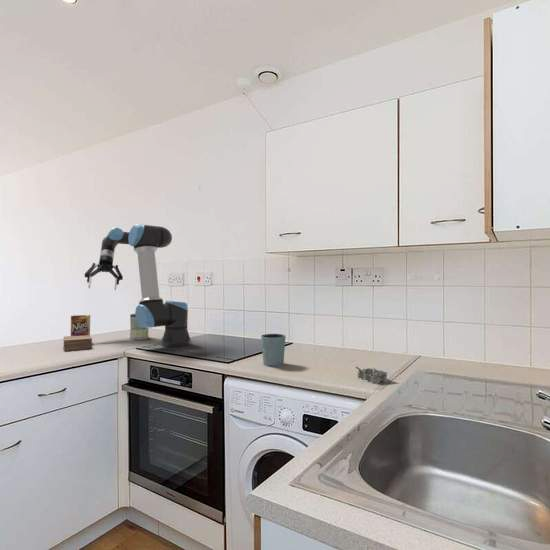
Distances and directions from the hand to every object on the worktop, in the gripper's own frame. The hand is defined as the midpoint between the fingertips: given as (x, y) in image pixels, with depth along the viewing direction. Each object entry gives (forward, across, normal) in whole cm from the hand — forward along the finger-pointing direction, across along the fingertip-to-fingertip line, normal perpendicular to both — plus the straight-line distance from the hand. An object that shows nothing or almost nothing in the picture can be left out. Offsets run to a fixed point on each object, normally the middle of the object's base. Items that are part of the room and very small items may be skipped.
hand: (102, 287), depth 210 cm
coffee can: (+23, -22, -17) cm, 36 cm away
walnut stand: (+36, +8, -1) cm, 37 cm away
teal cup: (+71, -73, +58) cm, 117 cm away
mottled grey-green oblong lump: (+89, -98, +86) cm, 158 cm away
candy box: (+29, +8, -12) cm, 32 cm away
